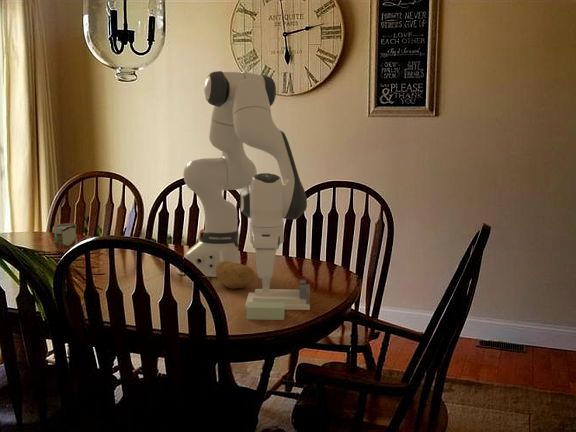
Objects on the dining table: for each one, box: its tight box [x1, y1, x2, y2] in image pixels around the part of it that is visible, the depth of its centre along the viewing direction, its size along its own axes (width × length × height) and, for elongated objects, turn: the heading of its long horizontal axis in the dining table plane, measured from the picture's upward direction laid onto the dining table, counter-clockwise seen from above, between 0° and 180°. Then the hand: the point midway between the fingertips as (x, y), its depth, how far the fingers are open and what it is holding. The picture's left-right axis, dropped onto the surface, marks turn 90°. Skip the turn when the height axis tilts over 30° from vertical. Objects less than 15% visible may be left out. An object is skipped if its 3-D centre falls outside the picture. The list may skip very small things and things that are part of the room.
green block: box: [246, 302, 285, 321], centre depth 164 cm, size 10×5×4 cm, turn 89°
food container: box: [52, 222, 77, 249], centre depth 239 cm, size 12×6×10 cm, turn 172°
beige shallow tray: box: [245, 279, 311, 311], centre depth 175 cm, size 18×12×6 cm, turn 89°
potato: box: [215, 261, 256, 289], centre depth 190 cm, size 10×14×8 cm
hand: (267, 286), depth 162 cm, fingers open, 8 cm apart
